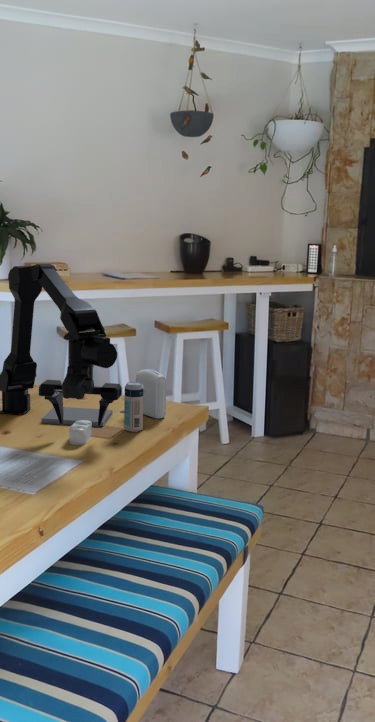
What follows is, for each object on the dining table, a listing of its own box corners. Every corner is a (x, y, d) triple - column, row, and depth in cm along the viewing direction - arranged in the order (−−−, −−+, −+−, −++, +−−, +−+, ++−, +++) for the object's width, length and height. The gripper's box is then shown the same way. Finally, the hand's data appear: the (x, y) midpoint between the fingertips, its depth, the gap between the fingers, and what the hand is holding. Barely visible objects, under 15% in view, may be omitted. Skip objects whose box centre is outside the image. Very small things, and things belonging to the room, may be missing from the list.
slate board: (41, 422, 177) (41, 418, 177) (54, 410, 189) (54, 406, 189) (102, 426, 176) (102, 422, 176) (112, 414, 188) (112, 409, 187)
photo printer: (132, 411, 191) (133, 367, 189) (145, 409, 194) (146, 365, 191) (155, 420, 183) (156, 374, 181) (168, 417, 186) (169, 372, 184)
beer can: (145, 428, 176) (146, 382, 173) (138, 433, 171) (139, 386, 169) (128, 426, 177) (129, 380, 175) (120, 431, 173) (121, 384, 170)
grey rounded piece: (67, 444, 161) (67, 430, 161) (79, 430, 172) (79, 417, 172) (84, 445, 161) (84, 431, 160) (95, 431, 172) (95, 418, 171)
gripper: (30, 365, 155) (31, 432, 158) (113, 370, 153) (112, 437, 156) (45, 356, 166) (46, 419, 169) (122, 360, 164) (121, 423, 167)
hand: (80, 424), depth 165 cm, fingers open, 9 cm apart
